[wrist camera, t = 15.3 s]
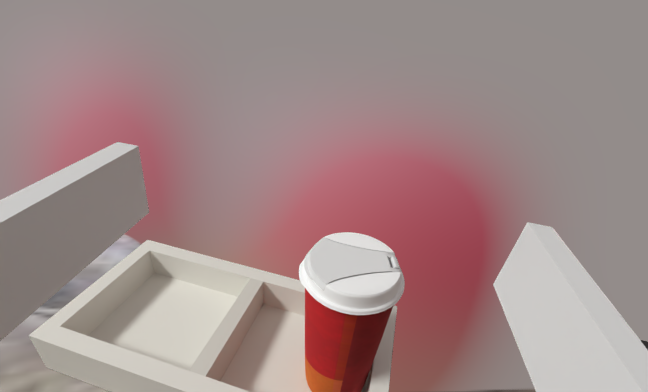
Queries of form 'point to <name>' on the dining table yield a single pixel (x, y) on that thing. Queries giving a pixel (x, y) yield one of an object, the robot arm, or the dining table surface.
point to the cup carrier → (189, 328)
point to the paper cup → (346, 308)
